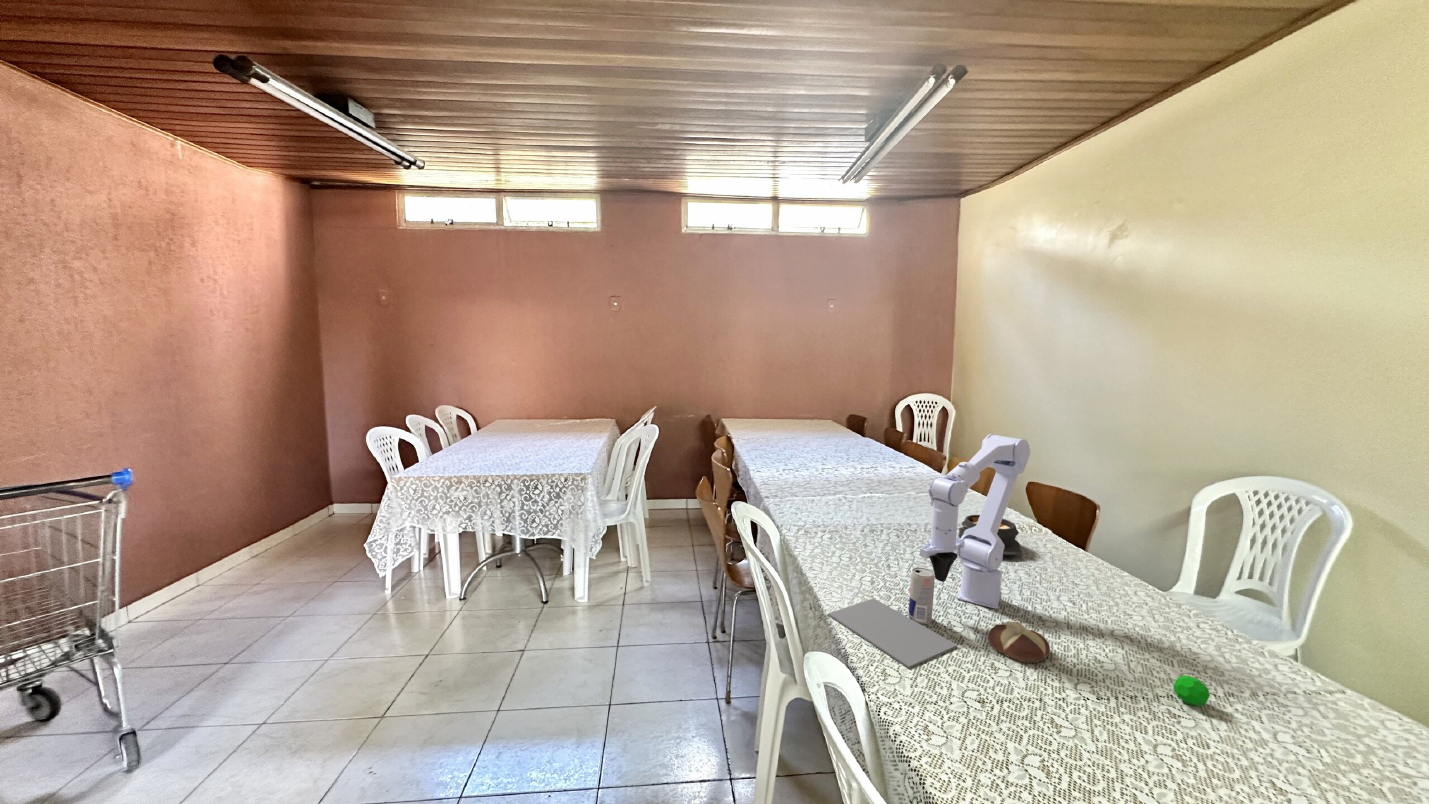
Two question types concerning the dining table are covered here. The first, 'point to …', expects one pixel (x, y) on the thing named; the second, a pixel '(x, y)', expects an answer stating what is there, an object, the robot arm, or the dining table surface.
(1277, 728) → the dining table surface
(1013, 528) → the casserole
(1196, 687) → the polyhedron
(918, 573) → the energy drink
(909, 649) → the mat
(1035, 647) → the bread
